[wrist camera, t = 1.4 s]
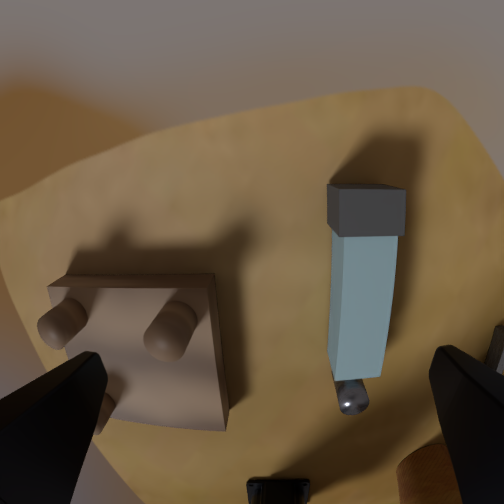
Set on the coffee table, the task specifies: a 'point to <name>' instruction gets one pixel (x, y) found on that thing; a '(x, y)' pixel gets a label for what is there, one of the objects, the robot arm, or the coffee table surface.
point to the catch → (496, 350)
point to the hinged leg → (362, 274)
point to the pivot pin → (351, 396)
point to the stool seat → (146, 345)
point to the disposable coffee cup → (428, 477)
